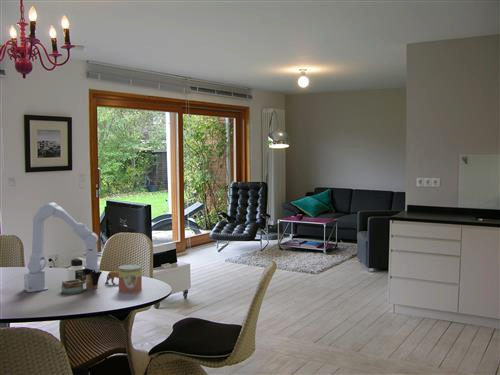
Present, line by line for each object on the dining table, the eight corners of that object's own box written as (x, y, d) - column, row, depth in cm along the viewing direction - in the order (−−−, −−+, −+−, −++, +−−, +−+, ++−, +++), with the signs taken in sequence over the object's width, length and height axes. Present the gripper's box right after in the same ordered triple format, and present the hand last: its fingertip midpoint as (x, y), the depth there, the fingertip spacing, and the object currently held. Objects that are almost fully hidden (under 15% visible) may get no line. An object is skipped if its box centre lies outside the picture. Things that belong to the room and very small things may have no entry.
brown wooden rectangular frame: (66, 288, 248) (66, 283, 248) (62, 286, 253) (62, 281, 253) (82, 286, 254) (82, 281, 254) (78, 284, 258) (78, 279, 258)
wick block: (88, 289, 257) (88, 275, 257) (86, 288, 259) (86, 274, 259) (97, 288, 261) (97, 274, 260) (95, 287, 262) (95, 273, 262)
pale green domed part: (66, 295, 246) (66, 290, 246) (58, 291, 254) (58, 286, 254) (86, 291, 253) (86, 286, 253) (78, 287, 260) (78, 283, 260)
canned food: (118, 294, 249) (118, 269, 248) (118, 288, 260) (118, 265, 259) (142, 292, 252) (142, 268, 251) (141, 287, 263) (141, 264, 262)
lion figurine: (128, 280, 278) (128, 263, 277) (133, 282, 274) (132, 265, 273) (102, 284, 268) (102, 267, 268) (107, 286, 264) (106, 269, 264)
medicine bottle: (75, 283, 269) (75, 260, 269) (67, 281, 274) (67, 259, 273) (87, 280, 275) (86, 258, 274) (79, 279, 279) (78, 257, 279)
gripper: (105, 258, 256) (105, 285, 257) (93, 254, 267) (93, 280, 268) (91, 260, 251) (92, 287, 252) (80, 255, 262) (80, 282, 263)
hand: (92, 283), depth 260 cm, fingers open, 7 cm apart
